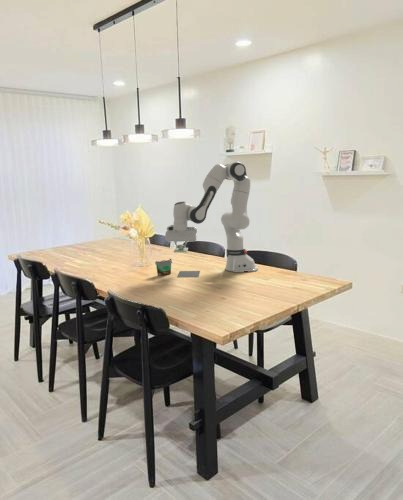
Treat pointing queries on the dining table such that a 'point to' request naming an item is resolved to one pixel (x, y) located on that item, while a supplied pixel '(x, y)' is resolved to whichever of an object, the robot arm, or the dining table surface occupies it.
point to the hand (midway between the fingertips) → (181, 248)
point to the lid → (181, 249)
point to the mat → (188, 274)
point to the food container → (163, 267)
